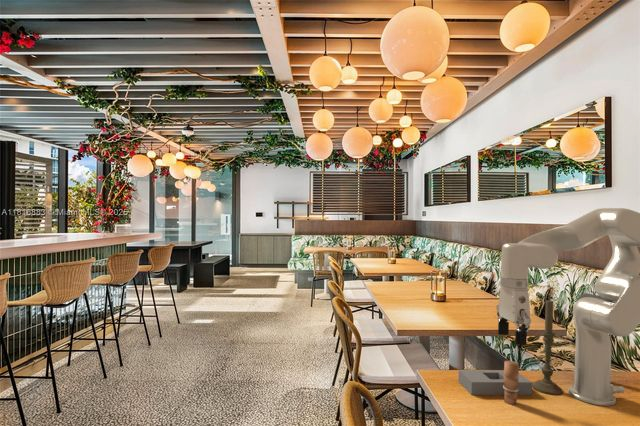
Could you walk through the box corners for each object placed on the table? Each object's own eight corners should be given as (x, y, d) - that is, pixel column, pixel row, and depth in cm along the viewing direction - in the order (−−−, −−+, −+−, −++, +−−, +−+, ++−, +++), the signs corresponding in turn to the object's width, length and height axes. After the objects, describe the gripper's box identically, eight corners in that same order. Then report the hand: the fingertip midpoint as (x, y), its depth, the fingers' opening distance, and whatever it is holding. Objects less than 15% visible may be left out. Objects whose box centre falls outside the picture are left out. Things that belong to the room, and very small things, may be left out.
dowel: (513, 399, 125) (514, 360, 125) (520, 405, 121) (522, 365, 121) (500, 399, 125) (501, 360, 125) (507, 405, 121) (508, 365, 121)
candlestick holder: (550, 396, 128) (553, 302, 128) (525, 385, 136) (528, 296, 136) (569, 392, 132) (572, 301, 132) (543, 381, 140) (546, 295, 140)
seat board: (514, 381, 139) (514, 370, 139) (531, 394, 129) (532, 382, 129) (458, 381, 137) (458, 369, 137) (471, 394, 127) (471, 382, 127)
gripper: (543, 289, 115) (540, 349, 115) (510, 279, 132) (508, 331, 132) (517, 288, 114) (515, 348, 114) (488, 278, 132) (486, 330, 132)
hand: (511, 339), depth 123 cm, fingers open, 9 cm apart
